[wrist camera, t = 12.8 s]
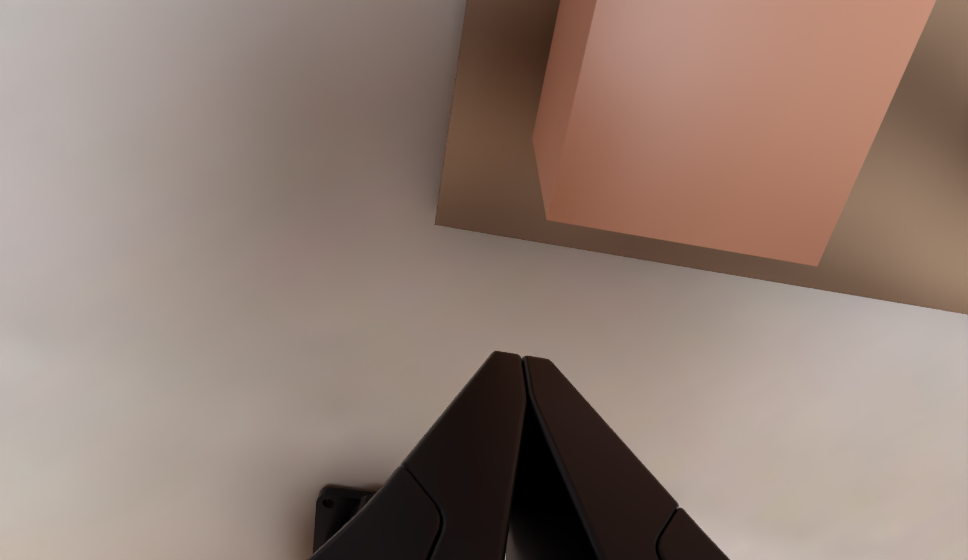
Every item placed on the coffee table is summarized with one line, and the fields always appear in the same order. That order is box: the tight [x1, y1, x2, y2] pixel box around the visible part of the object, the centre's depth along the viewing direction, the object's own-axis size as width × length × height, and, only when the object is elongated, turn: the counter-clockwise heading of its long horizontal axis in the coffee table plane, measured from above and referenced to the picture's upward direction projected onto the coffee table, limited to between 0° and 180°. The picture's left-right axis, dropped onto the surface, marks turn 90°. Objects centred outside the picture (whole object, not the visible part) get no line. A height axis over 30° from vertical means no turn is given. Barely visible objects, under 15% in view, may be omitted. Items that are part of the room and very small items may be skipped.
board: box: [435, 0, 968, 314], centre depth 18 cm, size 12×22×1 cm, turn 80°
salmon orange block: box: [532, 0, 936, 266], centre depth 13 cm, size 5×5×7 cm
